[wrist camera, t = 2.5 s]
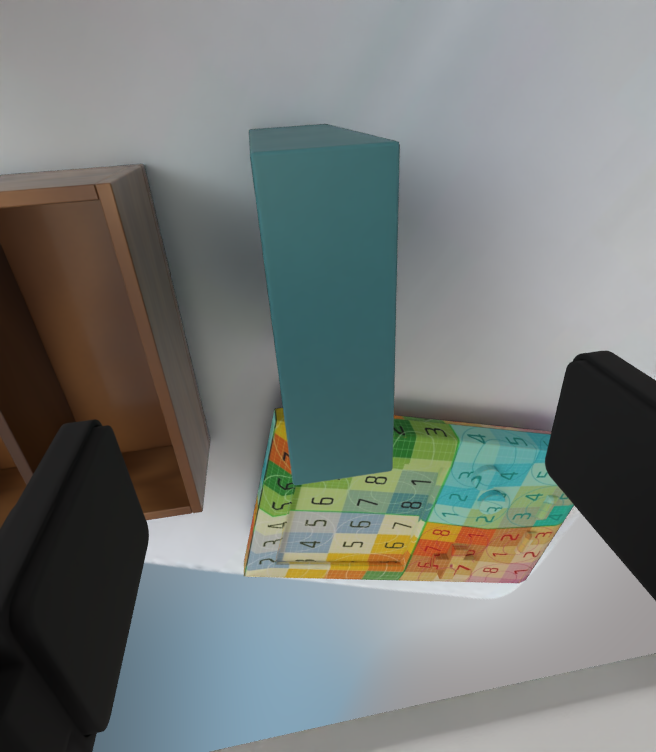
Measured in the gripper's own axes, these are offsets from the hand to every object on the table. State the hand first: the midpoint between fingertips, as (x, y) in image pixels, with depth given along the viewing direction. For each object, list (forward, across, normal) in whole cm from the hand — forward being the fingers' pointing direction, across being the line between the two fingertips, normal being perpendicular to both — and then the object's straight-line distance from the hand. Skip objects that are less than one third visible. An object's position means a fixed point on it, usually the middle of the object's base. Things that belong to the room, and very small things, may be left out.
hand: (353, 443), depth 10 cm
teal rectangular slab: (+15, 0, 0) cm, 15 cm away
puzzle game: (+15, -6, +15) cm, 23 cm away
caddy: (+15, +12, +3) cm, 20 cm away
